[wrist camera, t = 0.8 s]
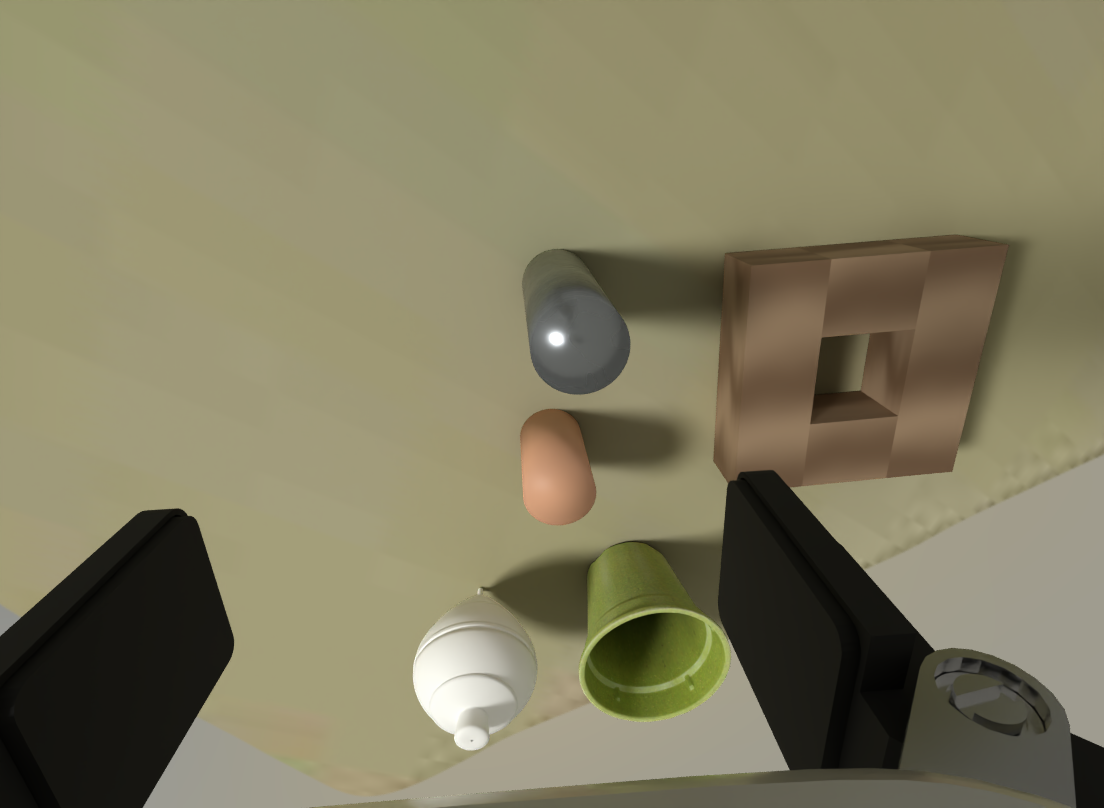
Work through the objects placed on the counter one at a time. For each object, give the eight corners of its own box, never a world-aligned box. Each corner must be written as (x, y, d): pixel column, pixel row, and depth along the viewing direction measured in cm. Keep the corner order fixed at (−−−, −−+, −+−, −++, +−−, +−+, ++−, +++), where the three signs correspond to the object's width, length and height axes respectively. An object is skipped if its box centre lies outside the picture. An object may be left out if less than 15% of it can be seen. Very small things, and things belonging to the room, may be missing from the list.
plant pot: (686, 510, 41) (729, 597, 33) (693, 610, 45) (733, 709, 37) (557, 532, 41) (569, 624, 33) (574, 630, 45) (589, 733, 37)
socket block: (724, 253, 34) (751, 265, 30) (955, 234, 34) (1009, 244, 31) (713, 461, 40) (734, 492, 36) (911, 442, 40) (952, 471, 36)
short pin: (517, 411, 37) (520, 466, 31) (579, 406, 37) (594, 459, 31) (523, 465, 39) (526, 528, 32) (582, 460, 39) (597, 521, 32)
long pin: (519, 252, 33) (526, 302, 22) (588, 246, 33) (629, 294, 22) (525, 319, 35) (534, 398, 24) (591, 314, 35) (630, 390, 24)
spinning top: (549, 564, 42) (564, 710, 31) (508, 639, 45) (509, 797, 34) (449, 533, 40) (428, 675, 29) (413, 612, 43) (381, 770, 32)
